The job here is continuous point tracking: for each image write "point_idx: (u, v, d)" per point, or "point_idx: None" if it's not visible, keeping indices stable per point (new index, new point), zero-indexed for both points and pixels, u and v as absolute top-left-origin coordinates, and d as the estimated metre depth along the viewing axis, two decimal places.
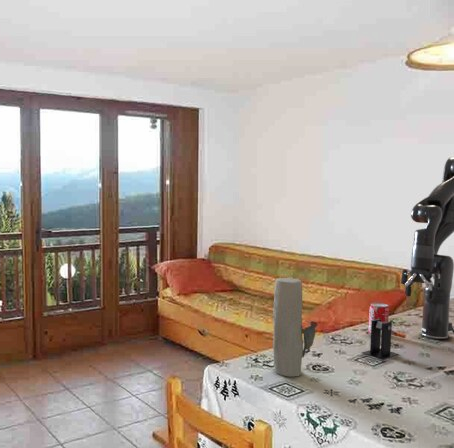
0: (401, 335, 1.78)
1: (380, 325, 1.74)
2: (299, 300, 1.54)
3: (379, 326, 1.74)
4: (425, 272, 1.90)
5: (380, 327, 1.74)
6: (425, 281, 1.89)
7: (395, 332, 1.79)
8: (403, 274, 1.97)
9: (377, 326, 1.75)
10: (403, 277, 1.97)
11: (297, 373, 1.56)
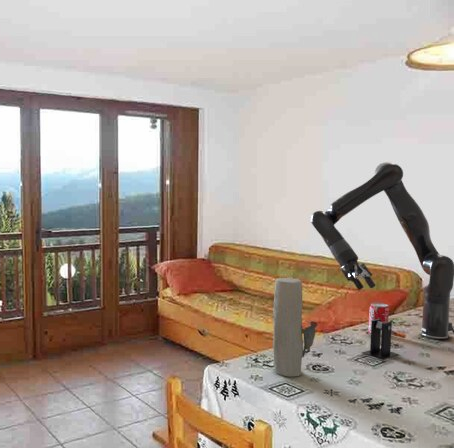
0: (401, 335, 1.78)
1: (380, 325, 1.74)
2: (299, 300, 1.54)
3: (379, 326, 1.74)
4: None
5: (380, 327, 1.74)
6: None
7: (395, 332, 1.79)
8: None
9: (377, 326, 1.75)
10: None
11: (297, 373, 1.56)
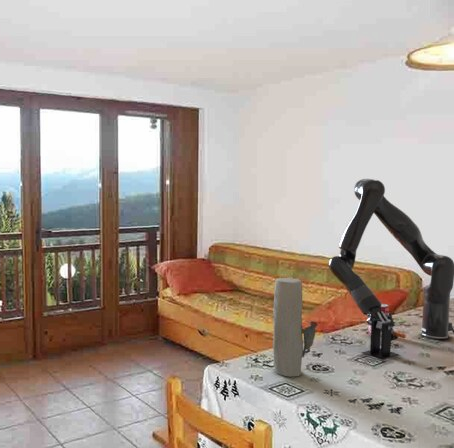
0: (401, 335, 1.78)
1: (380, 325, 1.74)
2: (299, 300, 1.54)
3: (379, 326, 1.74)
4: None
5: (380, 327, 1.74)
6: None
7: (395, 332, 1.79)
8: None
9: (377, 326, 1.75)
10: None
11: (297, 373, 1.56)
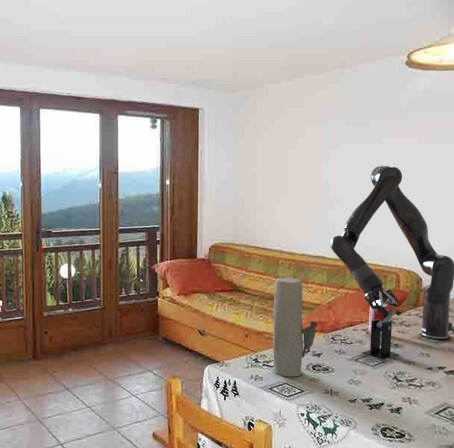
0: (402, 311, 1.77)
1: (380, 329, 1.74)
2: (299, 300, 1.54)
3: (380, 329, 1.74)
4: None
5: (381, 330, 1.74)
6: None
7: (395, 310, 1.78)
8: None
9: (378, 329, 1.75)
10: None
11: (297, 373, 1.56)
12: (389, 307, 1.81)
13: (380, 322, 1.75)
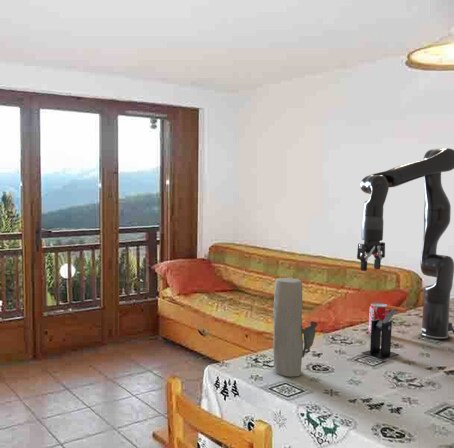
0: (402, 311, 1.77)
1: (380, 329, 1.74)
2: (299, 300, 1.54)
3: (380, 329, 1.74)
4: None
5: (381, 330, 1.74)
6: None
7: (395, 310, 1.78)
8: None
9: (378, 329, 1.75)
10: None
11: (297, 373, 1.56)
12: (389, 307, 1.81)
13: (380, 322, 1.75)
